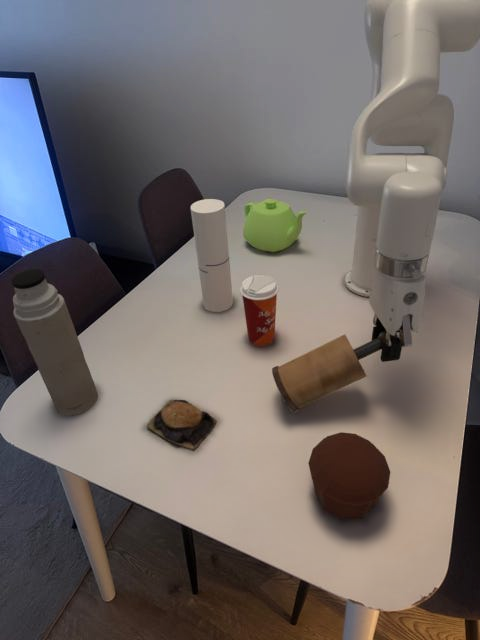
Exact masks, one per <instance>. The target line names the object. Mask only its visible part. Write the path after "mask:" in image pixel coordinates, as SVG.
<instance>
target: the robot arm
mask: <svg viewBox="0 0 480 640" xmlns="http://www.w3.org/2000/svg"><path fill="white" fill-rule="evenodd" d="M363 16H364V18H363V23H364V24H363V25H364V33H365V34H364V35H365V40H366V44H367V48H368V52H369V56H370V60H371V67H372V80H371V92H370V102H369V103H368V104H367V105H366V106H365V108H364V109H363V111H362V112H361V113H360V114H359V116H358V118H357V120H355V121H356V122H355V123H354V125H353V128H352V130H351V133H350V136H349V141H348V148H347V158H346V174H345V190H346V191H345V192H346V195H347V198H348V200H349V202H350V203H352V204H353V205H354V206H357V215H356V216H357V217H356V226H355V227H356V228H355V237H354V248H353V257H352V268H351V270H349V271H348V272H347V273H346V274H345V276H344V286H345V287H346V288H347V289H348V290H349V291H350V292H352V293H354V294H355V295H359V296H362V297H366V298H368V299H369V302H368V303H369V305H370V307H371V310H372V311H373V318H372V323H373V327H372V333H371V340H370V341H372V340H374V339H376V338H378V336H379V334H380V333H381V332H382V331H383V330H386V342H383V346H382V349H381V353H380V358H379V359H380V361H381V363H387V362H394V361H398V360H400V358H401V354H402V350H403V348H407V347H412V346H413V338H412V336H413V335H412V333H414V334H415V333H419V332H420V329H421V326H422V320H423V313H424V307H425V299H426V277H425V274H426V271H427V267H428V262H429V257H430V253H431V248H432V243H433V238H434V235H435V229H436V224H437V219H438V214H439V210H440V206H441V205H440V204H441V200H442V196H443V194H444V191H445V188H446V184H447V177H448V171H447V165H448V160H449V155H450V149H451V148H450V147H451V141H452V134H453V128H454V118H455V109H454V104H453V101H452V99H451V98H450V97H449V96H448V95H445V94H441V93H439V90H440V77H441V76H440V73H441V72H440V71H441V69H440V68H441V62H440V61H441V54H443V53H444V54H445V53H460V52H461V53H464V52H468V51H470V50H473V48H475V46H476V45H477V44H478V42H479V40H480V0H366V1H365V4H364V14H363ZM369 140H370V141H371V143H373V144H374V145H376V146H383V147H422V148H423V152H379V153H373V154H369V155H368V154H367V144H368V141H369ZM396 333H397V334H398V336H399V337H394V338H392V336H394V335H395V334H396Z"/></svg>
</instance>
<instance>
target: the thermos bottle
mask: <svg viewBox="0 0 480 640" xmlns="http://www.w3.org/2000/svg"><path fill="white" fill-rule="evenodd" d="M11 284H12V286H13V287H14V288H13V289H14V292H15V294H14V295H13V296H12V302H13V307H14V309H13V316H14V319H15V322H16V323H17V325H18V327H19V330H20V332H21V334H22V336H23V339H24V341H25V344H26V345H27V347H28V350H29V351H30V354H31V356H32V359H33V361H34V363H35V365H36V367H37V369H38V373H39V374H40V377H41V378H42V381H43V383H44V385H45V387H46V390H47V392H48V394H49V396H50V398H51V401H52V403H53V405H54V408H55V409H56V411H57V412H58V413H59V414H61V415H64V416H76V415H80V414H82V413H85V412H86V411H88V410H89V409H91V408H92V407H93V406H94V405H95V403H96V402H97V400H98V394H99V393H98V390H97V387H96V385H95V381H94V379H93V376H92V372H91V371H90V369H89V366H88V363H87V361H86V358H85V355H84V351H83V348H82V345H81V342H80V340H79V337H78V334H77V331H76V329H75V325H74V323H73V321H72V318H71V315H70V312H69V309H68V307H67V304H66V300H65V298H64V297H63V295H61V294H59V293H58V289H57V288H56V287H55V286H54V285H53V284H50V283H48V282H47V279H46V273H45V272H44V270H42V269H40V268H29V269H25V270H22V271H19V272H18V273H16V274H15V275H14V276H13V277H12V278H11Z"/></svg>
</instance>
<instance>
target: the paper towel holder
mask: <svg viewBox="0 0 480 640" xmlns="http://www.w3.org/2000/svg"><path fill="white" fill-rule="evenodd" d="M394 337H399V333H396V334H395V335H394V336H392V338H394ZM371 340H372V339H371ZM371 340H370V341H368V342H366V343H364V344H362V345H359V346H358V347H355V348H353V346H352V344H351V342H350V341H349V339H348V337H347V335H346V334H345V333H344V334H342V335H339V336H338V337H336V338H334V339H332V340H330V341H328V342H326V343H324V344H322V345H320V346H318V347H316V348H314V349H312V350H310V351H308V352H306V353H304V354H302V355H300V356H297V357H295V358H294V359H291V360H289V361H288V362H286V363H283V364H282V365H276V366H274V367H272V369H271V373H272V377H273V381H274V382H275V386H276V388H277V390H278V392H279V394H280V396H281V398H282V400H283V401H284V403H285V404H286V406H287V408H288V409H289V410H290V411H291V413H295V412H298V411H299V410H300V409H301V408H302V407H304V406H307V405H308V404H311V403H313V402H315V401H317V400H320V399H322V398H323V397H326V396H327V395H330V394H332V393H334V392H336V391H338V390H340V389H343V388H345V387H347V386H349V385H351V384H353V383H355V382H358V381H359V380H362V379H364V378H366V377H368V376H367V374H366V371H365V369H364V367H363V366H362V363H361V361H360V360H362V359H364V358H366V357H369V356H371V355H373V354H375V353H376V352H379V351H382V346H383V342H386V330H383V331H382V332H381V333H380V334H379V336H378V338H376V339H374V340H372V341H371Z"/></svg>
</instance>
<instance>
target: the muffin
mask: <svg viewBox="0 0 480 640" xmlns="http://www.w3.org/2000/svg"><path fill="white" fill-rule="evenodd" d="M308 468H309V472H310V473H309V474H310V477H311V480H312V485H313V489H314V494H315V497H316V498H317V499H318V501H319V502H320V504H321V506H322V508H323V510H324V512H325V513H327V514H330V515H332V516H334V517H337V518H338V519H339V520H341V521H347V520H362V519H363V518H364V517H365V516H366V515H367V513H368V512H370V511H371V510H372V509H373V508H375V506H376V505H377V503H378V501H379V499H380V498H381V496H382V495H383V494H384V493H385V492H386V491H387V489H388V488H389V484H390V477H391V470H390V467H389V464H388V461H387V459H386V456H385V455H384V454H383V452H382V451H380V449H379V448H378V447H376V446H375V444H374V443H372V442H371V441H370V439H367V438H365V437H363V436H360V435H358V434H356V433H351V432H337V433H334V434H330V435H327V436H326V437H325V438H323V439H322V440H321V441H319V442H318V443H317V444H316V445H315V446H314V447H313V448H312V450H311V453H310V456H309V460H308Z"/></svg>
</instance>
